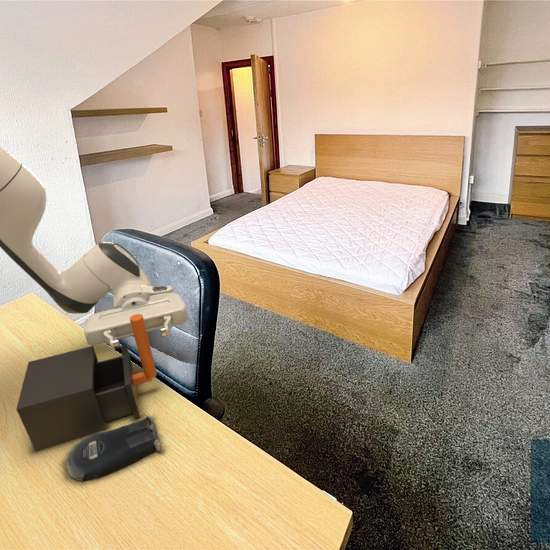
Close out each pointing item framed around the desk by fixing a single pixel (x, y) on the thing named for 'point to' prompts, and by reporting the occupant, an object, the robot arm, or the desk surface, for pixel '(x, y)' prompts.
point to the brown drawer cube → (60, 399)
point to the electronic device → (112, 450)
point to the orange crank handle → (124, 376)
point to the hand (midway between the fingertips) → (140, 339)
